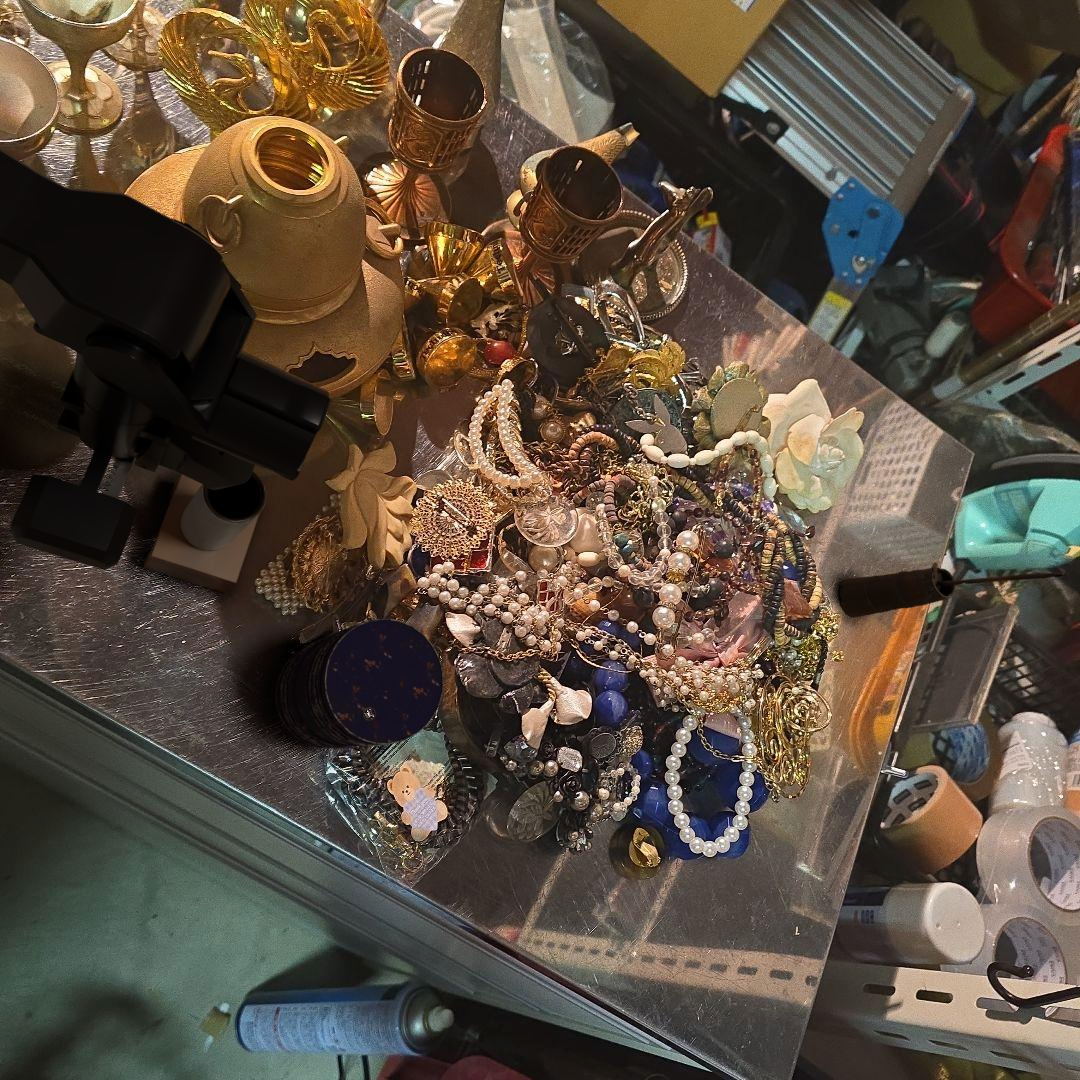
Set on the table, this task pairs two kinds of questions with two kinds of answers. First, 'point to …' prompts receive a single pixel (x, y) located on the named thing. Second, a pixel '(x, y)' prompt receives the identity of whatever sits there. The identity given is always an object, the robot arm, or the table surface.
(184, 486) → the tan square box
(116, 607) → the table surface
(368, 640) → the storage jar
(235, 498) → the planter
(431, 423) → the table surface
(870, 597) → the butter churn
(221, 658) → the table surface
